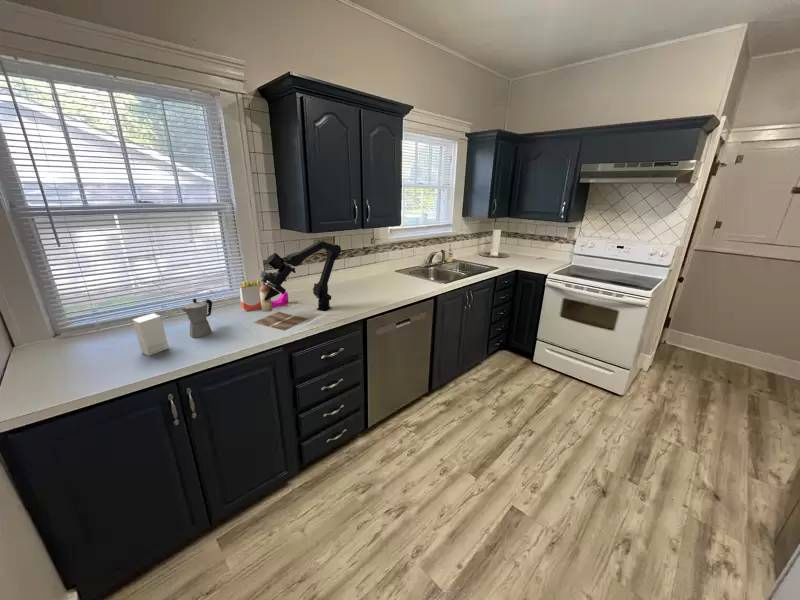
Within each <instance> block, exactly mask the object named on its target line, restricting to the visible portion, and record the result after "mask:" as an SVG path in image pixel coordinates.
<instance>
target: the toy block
mask: <svg viewBox="0 0 800 600" xmlns="http://www.w3.org/2000/svg"><path fill="white" fill-rule="evenodd" d="M280 294H281V295H280V296H279V297H278V299H276V300H271V303H272V308H276V307H284V306H285V305H284V304H287V305H289V293H288V292H287V291H286V292H285V293H284V294H282V293H280Z"/></svg>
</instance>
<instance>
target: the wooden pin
mask: <svg viewBox="0 0 800 600" xmlns="http://www.w3.org/2000/svg"><path fill="white" fill-rule="evenodd" d="M259 291H260V299H261V311H262V312H264V313H268V312H272V311H273V307H272V303H271V301H272V298H270V299H268V300H266V301H265V300H264V299H265V297H266V295H267V294H268V292H269V287H268V286H266V285H263V284H262V285H261V287H260V289H259Z"/></svg>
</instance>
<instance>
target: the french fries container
mask: <svg viewBox="0 0 800 600" xmlns="http://www.w3.org/2000/svg"><path fill="white" fill-rule="evenodd" d="M260 281H261V280H260V279H258V280H257V281H255V280H254V279H253V280H252V282H250V281H249V280H247V281H243V285H242V284H241V285H240V286H239V297H240V305H241V307H240V308H242V309H243V310H245V311H246V312H250V311H255V310H259V309H262V307H261V299H260V291H259V289H260V287H261V286H262V285H261V282H260Z"/></svg>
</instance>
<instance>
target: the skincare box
mask: <svg viewBox="0 0 800 600" xmlns="http://www.w3.org/2000/svg"><path fill="white" fill-rule="evenodd" d="M132 323H133V327H134V331H135V333H136V334H135V335H136V337H137V341H138V345H139V348H140V353H142V354H144V355H146V356H152V355H155V354H158V353H161V352H162V351H166V350H169V344H168V339H167V335H166V331H165V328H164V327H165V326H164V324H163V320H162V316H161V315H159V314H157V313H150V314H147V315H143V316H139V317H137V318H132Z"/></svg>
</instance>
